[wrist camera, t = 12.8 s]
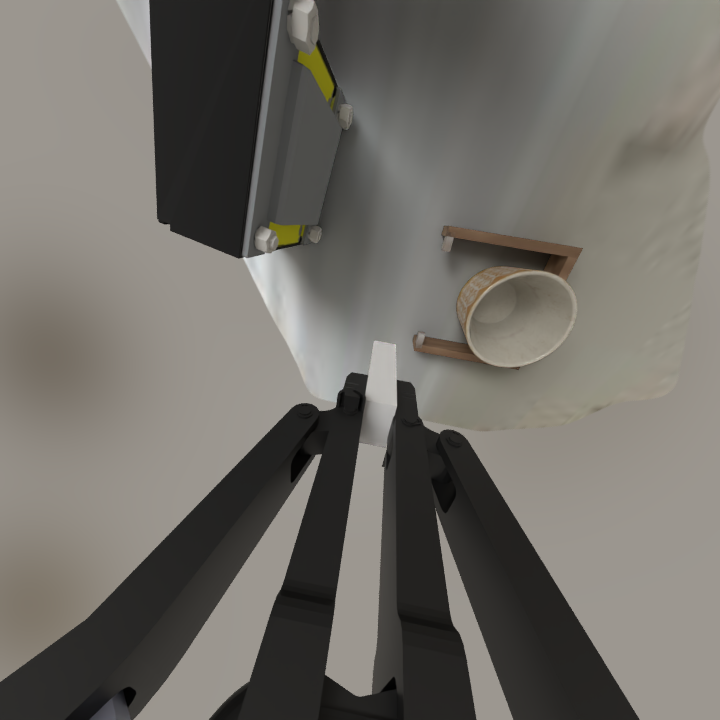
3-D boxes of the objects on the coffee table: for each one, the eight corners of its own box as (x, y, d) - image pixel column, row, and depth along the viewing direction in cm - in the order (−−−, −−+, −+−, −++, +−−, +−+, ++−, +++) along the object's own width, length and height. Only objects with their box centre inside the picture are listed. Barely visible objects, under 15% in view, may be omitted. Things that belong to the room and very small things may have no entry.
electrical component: (319, 248, 40) (262, 268, 22) (257, 222, 39) (148, 222, 22) (358, 105, 31) (315, -44, 14) (280, 68, 31) (131, -137, 13)
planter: (461, 255, 38) (482, 265, 29) (548, 263, 37) (599, 276, 28) (442, 333, 44) (455, 362, 35) (517, 341, 43) (550, 373, 34)
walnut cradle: (444, 225, 36) (449, 226, 33) (564, 246, 36) (582, 248, 32) (412, 340, 45) (414, 350, 42) (508, 358, 45) (518, 369, 41)
